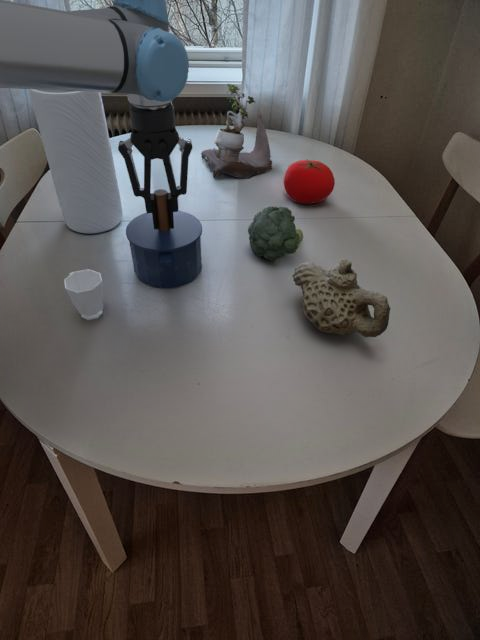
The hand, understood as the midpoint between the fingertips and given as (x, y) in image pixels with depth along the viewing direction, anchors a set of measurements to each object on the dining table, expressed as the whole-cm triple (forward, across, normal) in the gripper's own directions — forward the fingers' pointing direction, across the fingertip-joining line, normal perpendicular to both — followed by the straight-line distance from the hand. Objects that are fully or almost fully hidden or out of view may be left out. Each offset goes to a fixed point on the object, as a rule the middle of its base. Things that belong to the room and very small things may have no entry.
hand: (164, 225), depth 88 cm
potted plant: (+11, -23, -53) cm, 59 cm away
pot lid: (+1, 0, 0) cm, 1 cm away
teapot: (+11, -31, +22) cm, 40 cm away
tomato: (+11, -39, -29) cm, 50 cm away
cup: (+11, +16, +12) cm, 23 cm away
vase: (+11, +18, -22) cm, 30 cm away
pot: (+11, 0, 0) cm, 11 cm away
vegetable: (+11, -25, -4) cm, 28 cm away
